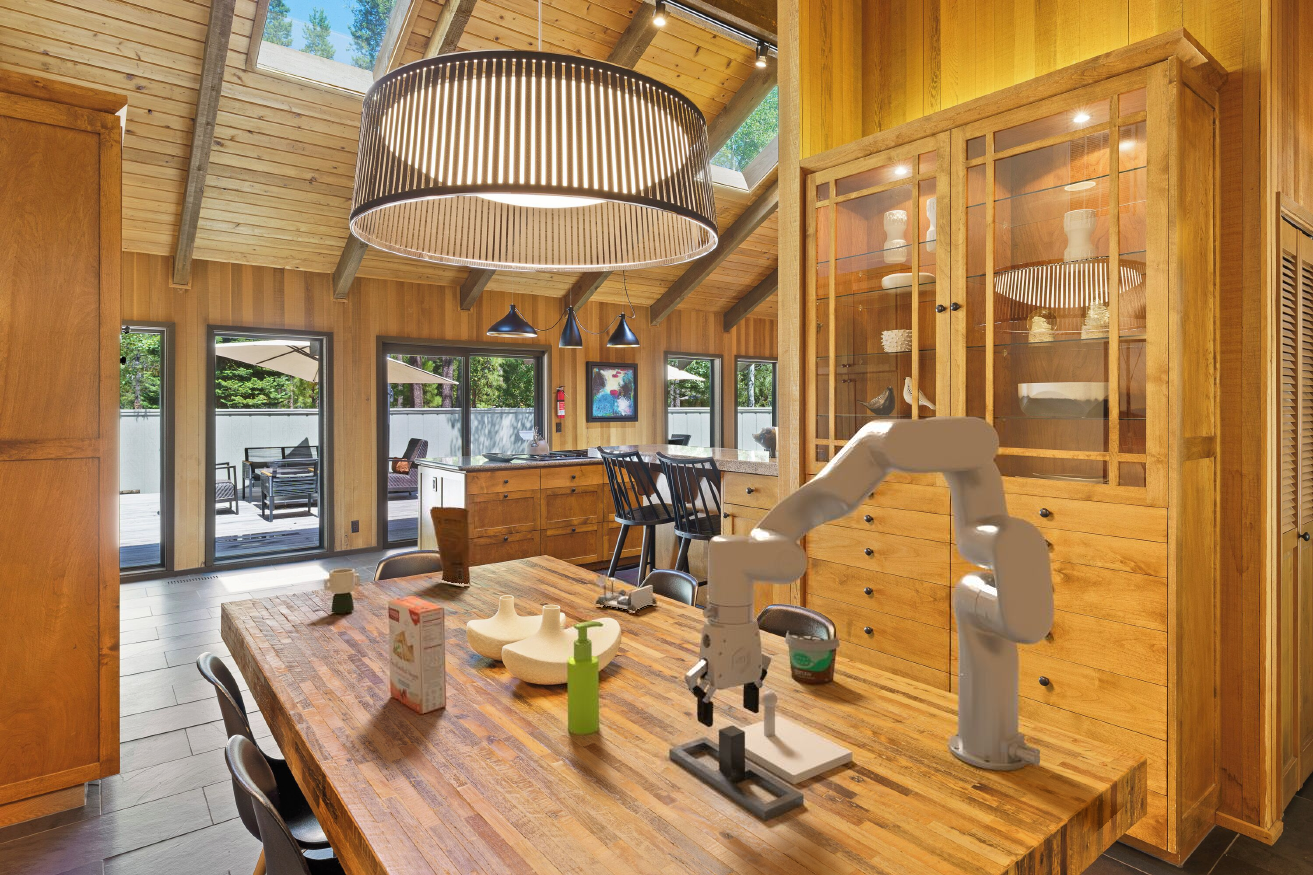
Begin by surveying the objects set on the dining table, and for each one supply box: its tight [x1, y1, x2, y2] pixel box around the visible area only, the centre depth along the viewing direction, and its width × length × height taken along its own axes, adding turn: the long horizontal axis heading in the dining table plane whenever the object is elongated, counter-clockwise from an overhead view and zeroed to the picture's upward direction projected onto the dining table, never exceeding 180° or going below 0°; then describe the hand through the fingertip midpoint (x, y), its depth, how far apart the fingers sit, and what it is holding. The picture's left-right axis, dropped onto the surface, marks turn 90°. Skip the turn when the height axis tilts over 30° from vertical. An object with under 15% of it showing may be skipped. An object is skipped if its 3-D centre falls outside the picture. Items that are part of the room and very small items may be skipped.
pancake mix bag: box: [429, 506, 471, 585], centre depth 253 cm, size 7×19×28 cm, turn 52°
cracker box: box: [387, 595, 447, 715], centre depth 148 cm, size 14×6×21 cm, turn 45°
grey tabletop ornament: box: [594, 574, 658, 612], centre depth 223 cm, size 18×10×12 cm
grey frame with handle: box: [668, 724, 805, 822], centre depth 116 cm, size 24×8×8 cm, turn 34°
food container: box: [784, 629, 841, 686], centre depth 158 cm, size 12×6×10 cm, turn 62°
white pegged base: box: [739, 690, 853, 785], centre depth 125 cm, size 18×14×9 cm
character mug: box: [323, 568, 361, 614], centre depth 217 cm, size 11×7×13 cm, turn 138°
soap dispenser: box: [566, 620, 604, 736], centre depth 135 cm, size 6×7×20 cm
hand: (728, 716), depth 115 cm, fingers open, 9 cm apart
